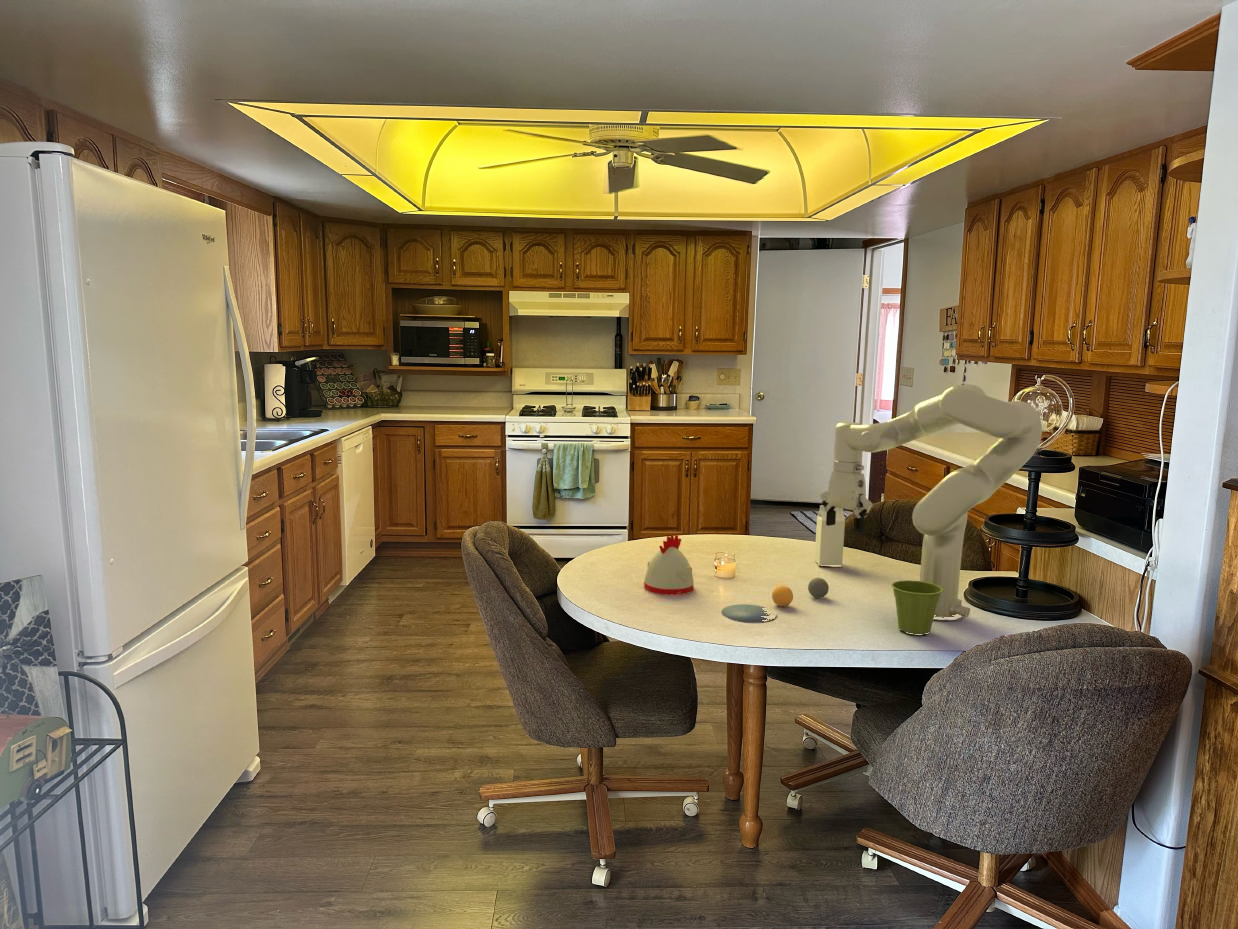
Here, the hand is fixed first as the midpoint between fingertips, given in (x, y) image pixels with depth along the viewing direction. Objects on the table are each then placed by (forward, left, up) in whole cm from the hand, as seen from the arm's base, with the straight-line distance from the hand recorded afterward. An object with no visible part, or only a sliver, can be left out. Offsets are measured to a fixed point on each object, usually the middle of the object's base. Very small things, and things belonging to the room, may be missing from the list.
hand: (844, 528), depth 231 cm
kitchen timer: (+29, +39, -19) cm, 52 cm away
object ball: (0, +24, -16) cm, 28 cm away
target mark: (0, +36, -18) cm, 40 cm away
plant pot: (-31, +11, -19) cm, 38 cm away
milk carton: (+22, -20, -19) cm, 35 cm away
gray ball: (0, +10, -16) cm, 18 cm away
